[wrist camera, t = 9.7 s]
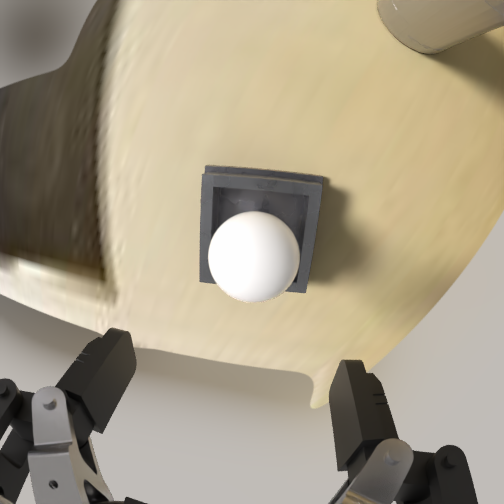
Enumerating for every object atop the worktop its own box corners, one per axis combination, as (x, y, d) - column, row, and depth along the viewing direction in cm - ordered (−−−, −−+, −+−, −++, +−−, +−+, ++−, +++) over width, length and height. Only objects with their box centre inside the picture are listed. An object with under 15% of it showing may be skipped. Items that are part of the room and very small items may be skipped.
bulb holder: (207, 165, 26) (196, 168, 22) (321, 175, 26) (329, 180, 22) (204, 268, 30) (194, 285, 26) (306, 279, 30) (310, 298, 26)
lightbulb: (284, 262, 28) (290, 328, 18) (222, 250, 28) (194, 310, 18) (298, 200, 26) (315, 236, 16) (231, 188, 26) (204, 216, 16)
